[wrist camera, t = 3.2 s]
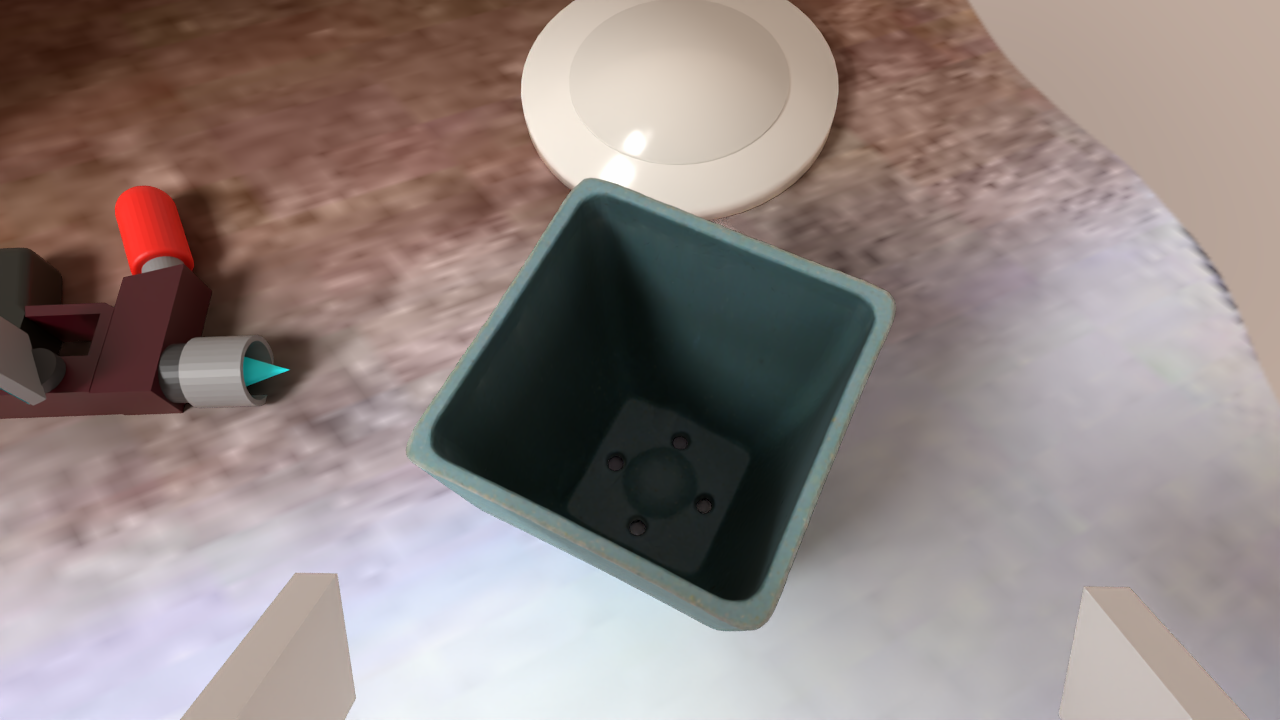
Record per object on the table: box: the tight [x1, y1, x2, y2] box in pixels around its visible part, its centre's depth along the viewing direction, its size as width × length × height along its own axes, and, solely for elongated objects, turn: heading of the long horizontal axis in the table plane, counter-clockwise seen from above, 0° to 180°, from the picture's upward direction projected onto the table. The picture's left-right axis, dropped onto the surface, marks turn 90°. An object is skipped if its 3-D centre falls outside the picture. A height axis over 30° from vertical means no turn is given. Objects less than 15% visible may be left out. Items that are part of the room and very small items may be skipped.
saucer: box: [521, 0, 839, 220], centre depth 33 cm, size 13×13×1 cm
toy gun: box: [0, 186, 289, 419], centre depth 28 cm, size 10×12×5 cm
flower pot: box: [406, 178, 896, 631], centre depth 22 cm, size 9×9×9 cm
